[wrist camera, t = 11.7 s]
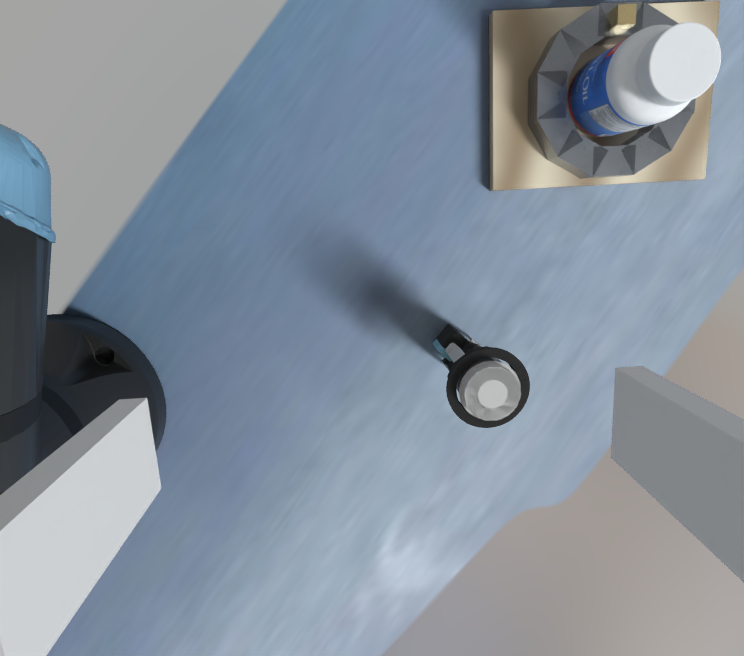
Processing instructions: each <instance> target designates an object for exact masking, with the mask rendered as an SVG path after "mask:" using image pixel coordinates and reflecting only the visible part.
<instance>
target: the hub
mask: <svg viewBox="0 0 744 656" xmlns="http://www.w3.org/2000/svg"><path fill="white" fill-rule="evenodd" d="M676 24H679V23H677V22H676V21H674V20H673V19H671V18H670V17H668V16H666V15H665V14H663V13H662V12H660V11H658V10H657V9H655V8H654V7H652V6H650V5H649V4H647V3H646V2H644V1H635V2H613V3H599V4H597V5H596V6H594V7H593V8H592V9H590V10H589V11H587V12H586V13H584V14H583V15H581V16H580V17H578V18H577V19H575V20H574V21H572V22H571V23H569V24H568V25H566V26H565V27H564V28H562V29H560V30H559V31H558V32H557V33H556V34H555V35H553V36H552V37H551V38H550V39H549V41H548V43H547V45H546V47H545V48H544V50H543V52H542V54H541V56H540V58H539V60H538V62H537V64H536V65H535V67H534V69H533V71H532V73H531V75H530V77H529V79H528V123H527V124H528V126H529V127H530V129H531V131H532V133H533V135H534V137H535V139H536V140H537V142H538V144H539V146H540V148H541V150H542V151H543V153H544V155H545V157H546V159H547V160H548V161H550V162H552V163H554V164H556V165H557V166H559V167H561V168H563V169H564V170H566V171H568V172H570V173H571V174H573V175H575V176H577V177H579V178H580V179H583V178H601V177H621V176H628V175H634V174H636V173H637V172H639V171H640V170H642V169H643V168H645V167H647V166H648V165H650V164H651V163H653V162H654V161H656V160H658V159H659V158H661V157H662V156H664V155H665V154H667V153H668V152H670V151H671V150H672V148H673V147H674V145H675V143H676V142H677V140H678V138H679V137H680V135H681V133H682V132H683V130H684V128H685V126H686V125H687V123H688V121H689V120H690V118H691V116H692V115H693V113H694V111H695V101H696V98H695V99H693V100H691V101H690V102H689V104H688V105H687V106H686V107H685V108H684V109H683V110H682V111H680V112H679V113H678V114H676V115H675V116H673V117H671V118H669V119H667V120H665V121H662V122H659V123H656V124H653V125H649V126H646V127H642V128H640V129H639V130H638V132H637V134H636V135H634V136H633V137H631V138H629V139H628V140H626V141H625V142H623V143H622V144H620V145H619V146H600V145H598V144H596V143H595V142H593V141H591V140H589V139H588V138H586V137H584V136H583V135H581V134H579V132H578V131H577V129H576V127H575V125H574V123H573V121H572V119H571V117H570V115H569V113H568V111H567V109H566V100H567V79H568V77H569V75H570V73H571V71H572V69H573V68H574V66H575V64H576V62H577V60H578V58H579V56H580V55H581V53H582V52H584V51H585V50H587V49H588V48H590V47H591V46H594V45H615V44H618V43H620V42H621V41H623V40H624V39H626V38H628V37H629V36H631V35H632V34H634V33H636V32H638V31H640V30H642V29H644V28H646V27H649V26H653V25H671V26H674V25H676Z"/></svg>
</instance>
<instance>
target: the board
mask: <svg viewBox="0 0 744 656" xmlns="http://www.w3.org/2000/svg"><path fill="white" fill-rule="evenodd" d="M649 5H650V6H652V7H654V8H655V9H657V10H658V11H660V12H662V13H663V14H665V15H666V16H668V17H670V18H671V19H673V20H674V21H676V22H677V23H683V22H695V23H699V24H702V25H704V26H706V27H707V28H709V29H710V30H711V31H712V32H713V33H714V35H715V36H716V38H717V32H718V20H719V8H720V1H698V2H676V3H653V4H649ZM593 7H594V6H586V7H563V8H541V9H518V10H496V11H492V13H491V14H490V16H489V112H490V191H496V190H515V189H533V188H552V187H570V186H589V185H607V184H626V183H644V182H663V181H681V180H698V179H705V175H706V163H707V151H708V139H709V127H710V115H711V104H712V92H713V83H712V85H711V86H710V87H709V88H708V89H707V90H706V91H705V92H704V93H703V94H702V95H700V96H699V97H697V98H696V101H695V111H694V113H693V115H692V116H691V118H690V120H689V121H688V123H687V125H686V126H685V128H684V130H683V132H682V133H681V135H680V137H679V138H678V140H677V142H676V143H675V145H674V147H673V148H672V150H671V151H670V152H668V153H667V154H665V155H664V156H662V157H661V158H659V159H658V160H656V161H654V162H653V163H651V164H650V165H648V166H647V167H645V168H643V169H642V170H640V171H639V172H637V173H636V174H634V175H628V176H621V177H601V178H583V179H580V178H579V177H577V176H575V175H573V174H571V173H570V172H568V171H566V170H564V169H563V168H561V167H559V166H557V165H556V164H554V163H552V162H550V161H548V160H547V159H546V157H545V155H544V153H543V151H542V150H541V148H540V146H539V144H538V142H537V140H536V139H535V137H534V135H533V133H532V131H531V129H530V127H529V126H528V124H527V123H528V79H529V77H530V75H531V73H532V71H533V69H534V67H535V65H536V64H537V62H538V60H539V58H540V56H541V54H542V52H543V50H544V48H545V47H546V45H547V43H548V41H549V39H550V38H551V37H552V36H553V35H555V34H556V33H557V32H558V31H559V30H560V29H562V28H564V27H565V26H566V25H568V24H569V23H571V22H572V21H574V20H575V19H577V18H578V17H580V16H581V15H583V14H584V13H586V12H587V11H589V10H590V9H592V8H593ZM615 45H617V44H615ZM615 45H594V46H591V47H590V48H588V49H587V50H585V51H584V52H582V53H581V55H580V56H579V58H578V60H577V62H576V64H575V66H574V68H573V69H572V71H571V73H570V75H569V77H568V79H567V94H568V89H569V86H570V84H571V81H572V80H573V78H574V76H575V75H576V73H577V72H578V71H579V70H580V69H581V68H582V67H583V66H584V65H585V64H586V63H588V62H589V61H591V60H592V59H594V58H596V57H597V56H599V55H601V54H602V53H604V52H605V51H607V50H608V49H610V48H612V47H613V46H615ZM566 109H567V111H568V107H567V100H566ZM568 113H569V111H568ZM573 123H574V122H573ZM574 125H575V124H574ZM575 127H576V129H577V131H578V132H579V134H581V135H583V136H584V137H586V138H588V139H589V140H591V141H593V142H595V143H596V144H598V145H600V146H619V145H620V144H622V143H623V142H625V141H626V140H628V139H629V138H631V137H633V136H634V135H636V134H637V132H638V130H639V129H640V128H639V129H635V130H631V131H627V132H624V133H620V134H616V135H613V136H607V137H595V136H591V135H588V134H586V133H584V132H583V131H581V130H580V129H579V128H578V127H577V126H576V125H575Z"/></svg>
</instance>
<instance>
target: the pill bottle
mask: <svg viewBox="0 0 744 656" xmlns="http://www.w3.org/2000/svg"><path fill="white" fill-rule="evenodd" d="M720 64H721V49H720V45H719V42H718V40H717V38H716V36H715V35H714V33H713V32H712V31H711V30H710V29H709V28H707V27H706V26H704V25H702V24H699V23H695V22H683V23H679V24H676V25H674V26H671V25H653V26H649V27H646V28H644V29H642V30H640V31H638V32H636V33H634V34H632V35H631V36H629V37H628V38H626V39H624V40H623V41H621V42H620V43H618V44H617V45H615V46H613V47H612V48H610V49H608V50H607V51H605V52H604V53H602V54H601V55H599V56H597V57H596V58H594V59H592V60H591V61H589V62H588V63H586V64H585V65H584V66H583V67H582V68H581V69H580V70H579V71H578V72H577V73H576V75H575V76H574V78H573V80H572V81H571V84H570V86H569V89H568V94H567V107H568V111H569V115H570V117H571V119H572V121H573V122H574V124H575V125H576V126H577V127H578V128H579V129H580V130H581V131H583V132H584V133H586V134H588V135H591V136H595V137H607V136H613V135H616V134H620V133H624V132H627V131H631V130H635V129H639V128H642V127H646V126H649V125H653V124H656V123H659V122H662V121H665V120H667V119H669V118H671V117H673V116H675V115H676V114H678V113H679V112H680V111H682V110H683V109H684V108H685V107H686V106H687V105H688V104H689V102H690V101H691V100H693V99H695V98H697V97H699V96H700V95H702V94H703V93H704V92H705V91H706V90H707V89H708V88H709V87H710V86H711V85H712V83H713V82H714V80H715V79H716V76H717V74H718V72H719V68H720Z"/></svg>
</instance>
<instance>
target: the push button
mask: <svg viewBox="0 0 744 656" xmlns="http://www.w3.org/2000/svg"><path fill="white" fill-rule="evenodd" d="M468 337H469V338H470V339H471V341H470V342H469V341H468V340H467V339H465V338H464V337H463V336H462V335H461V334H460V333H459V332H458V331H457V330H456V329H455V328H454V327H453V326H452V325H450V324H448V326H447V327H446V328H445V329H444V330H443V331H442V332H441V334H440V335H439V336H438V337H437V338H436V339H435V341H434V342H433V343H432V344H433V345H434V347H435V348H436V350H437V351H438V352H439V353H440V354H442V355H443V356H444V357H445V358H444V359H443V360H442V362H443V363H444V364H445V366H446V367H447V368H448V369H449V374H448V380H447V387H446V392H447V398H448V401H449V404H450V406H451V408H452V409H453V411H454V413H455V414H456V415H457V416H458V417H459V418H460V419H461V420H463V421H464V422H466V423H468V424H470V425H473V426H476V427H482V428H490V427H496V426H500V425H502V424H505V423H507V422H509V421H510V420H512V419H513V418H514V417H515V416H516V415H517V414H518V413H519V412H520V411H521V410H522V408H523V407H524V405H525V403H526V401H527V399H528V395H529V390H530V382H529V376H528V373H527V371H526V369H525V367H524V365H523V364H522V363H521V362H520V360H519V359H517V358H516V357H515V356H514V355H513V354H511V353H509V352H508V351H505V350H503V349H499V348H492V347H481V346H480V345H479V344H478V343H477V342H476V341H475V340H473V339H472V338H471V337H470V336H468ZM496 358H498V359H501V360H504V361H506V362H507V363H509V365H510V367H511V368H510V367H509V366H508V365H507V364H504V363H502V362H501V361H500V360H498V359H496ZM456 388H457V390H458V392H459V394H460V400H461V403H462V404H461V403H460V402H459V401H458V398H457V393H456Z"/></svg>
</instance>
